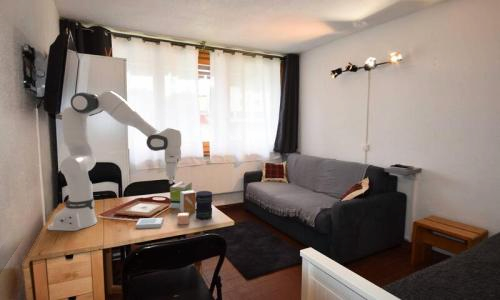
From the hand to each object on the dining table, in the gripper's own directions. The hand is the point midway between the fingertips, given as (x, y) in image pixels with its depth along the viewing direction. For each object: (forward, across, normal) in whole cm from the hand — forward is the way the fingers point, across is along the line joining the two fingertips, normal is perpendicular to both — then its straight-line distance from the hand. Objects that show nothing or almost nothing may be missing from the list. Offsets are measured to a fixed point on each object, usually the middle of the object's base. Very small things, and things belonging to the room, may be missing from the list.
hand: (172, 181), depth 152 cm
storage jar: (+23, -5, +19) cm, 30 cm away
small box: (+23, -16, +9) cm, 30 cm away
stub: (+23, +3, +7) cm, 24 cm away
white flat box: (+24, +3, -11) cm, 26 cm away
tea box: (+24, -30, +4) cm, 38 cm away
